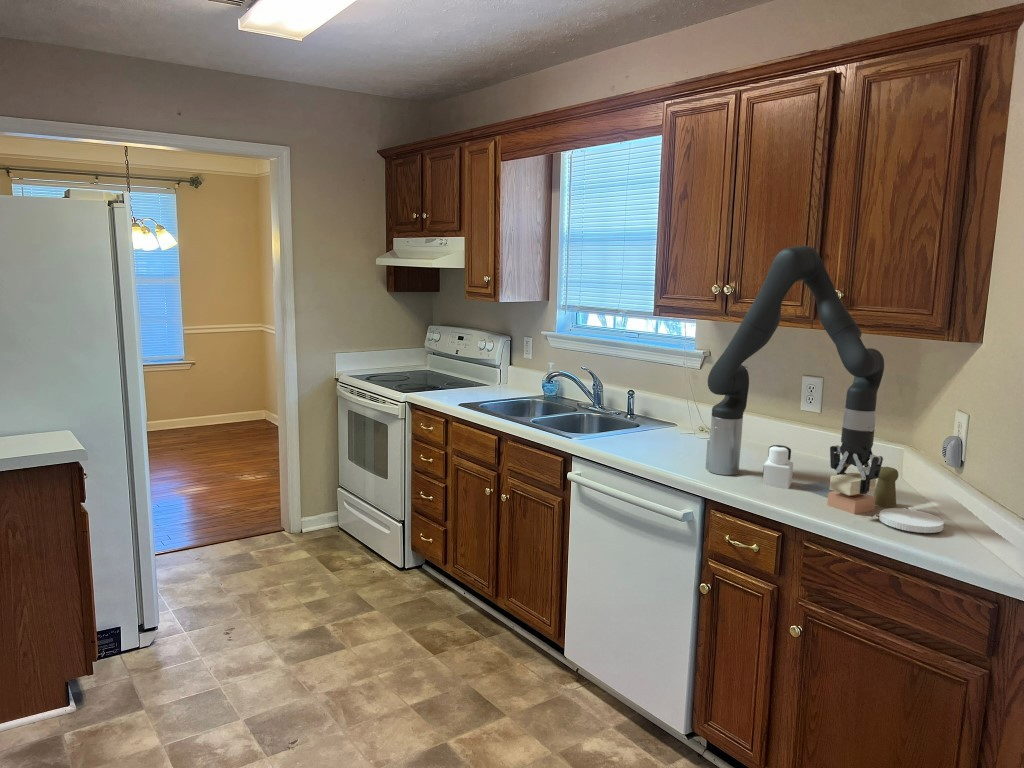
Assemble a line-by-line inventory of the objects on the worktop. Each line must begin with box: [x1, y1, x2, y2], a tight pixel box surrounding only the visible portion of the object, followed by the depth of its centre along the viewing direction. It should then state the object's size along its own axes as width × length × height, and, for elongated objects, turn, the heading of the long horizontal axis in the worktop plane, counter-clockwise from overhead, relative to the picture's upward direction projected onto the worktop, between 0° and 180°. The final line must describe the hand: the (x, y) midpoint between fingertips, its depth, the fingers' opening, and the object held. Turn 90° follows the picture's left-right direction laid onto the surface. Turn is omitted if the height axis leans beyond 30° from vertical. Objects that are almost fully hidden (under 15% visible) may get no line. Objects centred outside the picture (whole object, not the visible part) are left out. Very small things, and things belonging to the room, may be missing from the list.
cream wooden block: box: [829, 471, 877, 496], centre depth 193 cm, size 6×10×4 cm, turn 119°
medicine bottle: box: [761, 444, 794, 490], centre depth 214 cm, size 7×7×12 cm
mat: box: [792, 481, 833, 499], centre depth 210 cm, size 12×12×1 cm
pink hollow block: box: [826, 491, 876, 515], centre depth 194 cm, size 8×8×4 cm
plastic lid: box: [878, 507, 945, 534], centre depth 184 cm, size 14×14×2 cm
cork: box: [873, 466, 899, 509], centre depth 197 cm, size 6×6×11 cm
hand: (852, 489), depth 193 cm, fingers closed on cream wooden block, 6 cm apart
